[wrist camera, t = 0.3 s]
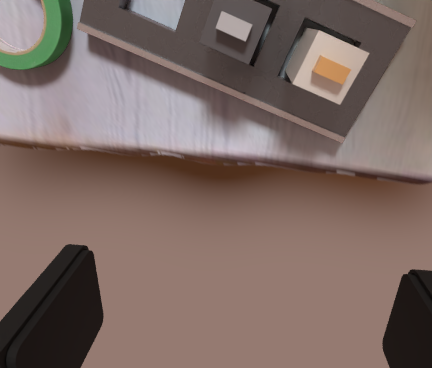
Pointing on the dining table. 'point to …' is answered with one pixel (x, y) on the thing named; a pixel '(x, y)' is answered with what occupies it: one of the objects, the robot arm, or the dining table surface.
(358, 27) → the panel
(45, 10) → the tape roll
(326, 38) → the white block orange tab
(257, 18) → the matte charcoal box
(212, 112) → the dining table surface
